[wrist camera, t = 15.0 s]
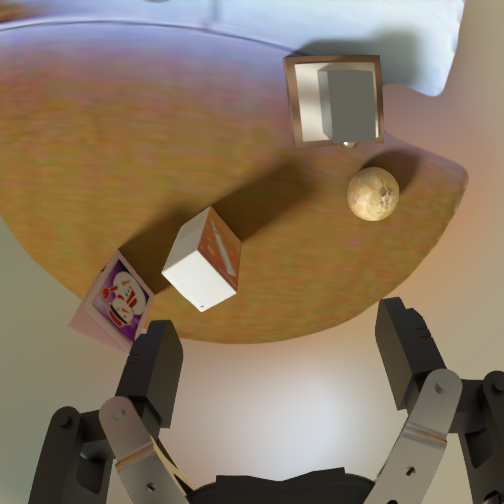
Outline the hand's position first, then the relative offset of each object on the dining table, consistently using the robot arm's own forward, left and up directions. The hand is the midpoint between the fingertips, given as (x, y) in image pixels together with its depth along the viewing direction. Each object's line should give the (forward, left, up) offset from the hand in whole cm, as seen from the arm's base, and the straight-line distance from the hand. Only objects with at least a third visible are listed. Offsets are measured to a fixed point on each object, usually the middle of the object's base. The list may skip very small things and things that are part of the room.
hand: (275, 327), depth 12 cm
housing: (-4, +10, -32) cm, 33 cm away
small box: (+15, -10, -36) cm, 41 cm away
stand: (-4, +10, -36) cm, 38 cm away
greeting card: (+22, -28, -36) cm, 51 cm away
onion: (+10, +15, -36) cm, 41 cm away
